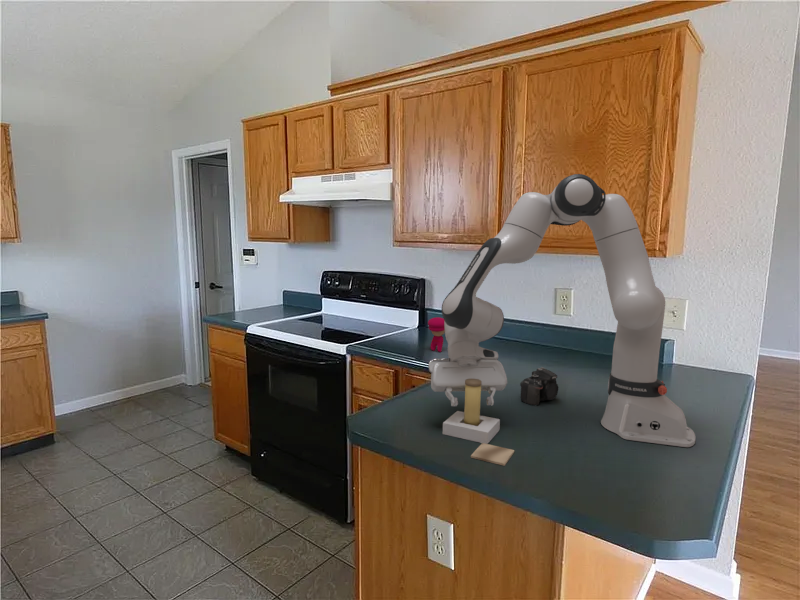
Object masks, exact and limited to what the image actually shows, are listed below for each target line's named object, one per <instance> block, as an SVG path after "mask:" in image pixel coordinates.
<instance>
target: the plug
mask: <svg viewBox="0 0 800 600" xmlns="http://www.w3.org/2000/svg"><path fill="white" fill-rule="evenodd" d="M481 385H482V381H481V380H479V379H466V380H465V391H464V411H463V412H464V423H465V424H469V425H474V426H478V425H479V423H480V415H481V399H482V398H481V394H482V391H481Z"/></svg>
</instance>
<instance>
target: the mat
mask: <svg viewBox="0 0 800 600" xmlns="http://www.w3.org/2000/svg"><path fill="white" fill-rule="evenodd" d="M514 454H515V450H514V449H511V448H506V447H504V446H503V447H502V446H498V445H493V444H489V443H488V444H485V443H481V444H480V445H478V447H477V448H476V449H475V450H474V451H473V453H471V455H470V458H471V459H475V460H479V461H482V462H483V461H484V462H487V463H491V464H496V465H500V466H503V467H504V466H505V467H506V465H507V463H508V462H509V461H510V459H511V457H512V456H513V455H514Z"/></svg>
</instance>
